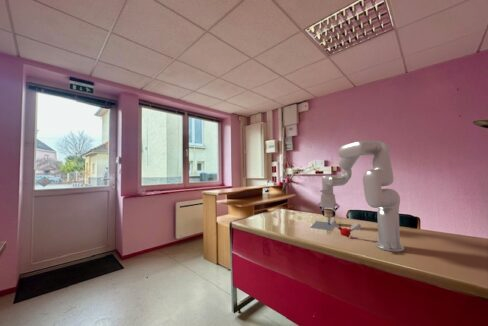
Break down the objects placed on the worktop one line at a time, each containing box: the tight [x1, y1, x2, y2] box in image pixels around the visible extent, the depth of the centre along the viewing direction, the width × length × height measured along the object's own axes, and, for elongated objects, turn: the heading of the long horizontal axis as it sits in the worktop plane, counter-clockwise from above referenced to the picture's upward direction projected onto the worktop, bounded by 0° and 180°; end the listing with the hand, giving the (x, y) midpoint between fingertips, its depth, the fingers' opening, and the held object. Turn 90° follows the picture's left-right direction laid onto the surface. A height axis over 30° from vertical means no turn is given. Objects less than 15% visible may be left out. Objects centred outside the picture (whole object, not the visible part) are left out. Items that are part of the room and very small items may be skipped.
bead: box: [323, 208, 334, 218], centre depth 151 cm, size 6×6×5 cm
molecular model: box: [330, 219, 362, 238], centre depth 127 cm, size 18×6×10 cm, turn 50°
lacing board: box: [309, 220, 338, 232], centre depth 148 cm, size 20×15×2 cm
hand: (328, 215), depth 151 cm, fingers closed on bead, 6 cm apart
